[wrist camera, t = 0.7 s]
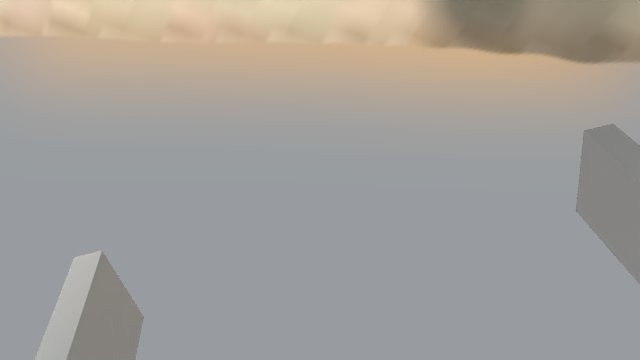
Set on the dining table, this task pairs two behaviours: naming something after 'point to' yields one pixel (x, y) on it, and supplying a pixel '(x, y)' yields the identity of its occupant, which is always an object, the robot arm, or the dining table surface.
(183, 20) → the dining table surface
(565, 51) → the dining table surface
